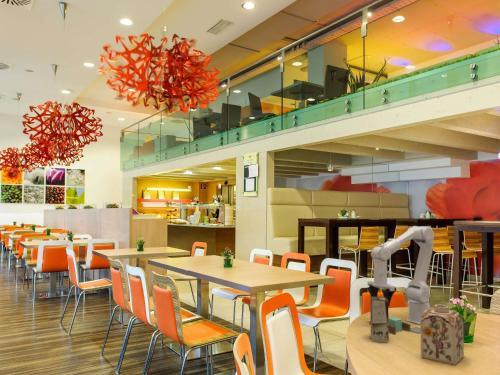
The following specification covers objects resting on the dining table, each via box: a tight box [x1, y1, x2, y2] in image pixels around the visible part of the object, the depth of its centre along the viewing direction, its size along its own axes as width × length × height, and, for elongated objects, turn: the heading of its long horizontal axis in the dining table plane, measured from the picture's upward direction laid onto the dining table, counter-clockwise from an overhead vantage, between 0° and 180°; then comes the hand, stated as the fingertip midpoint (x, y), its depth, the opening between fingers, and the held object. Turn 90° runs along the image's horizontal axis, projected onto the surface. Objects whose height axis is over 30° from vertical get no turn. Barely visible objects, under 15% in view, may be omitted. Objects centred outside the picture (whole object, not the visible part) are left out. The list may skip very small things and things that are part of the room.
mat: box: [409, 326, 421, 335], centre depth 184 cm, size 7×7×1 cm
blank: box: [388, 316, 403, 333], centre depth 184 cm, size 4×5×5 cm
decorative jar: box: [420, 304, 465, 366], centre depth 151 cm, size 12×12×18 cm
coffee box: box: [369, 296, 390, 344], centre depth 172 cm, size 9×6×16 cm
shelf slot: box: [388, 321, 411, 335], centre depth 184 cm, size 10×9×3 cm
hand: (380, 304), depth 191 cm, fingers open, 7 cm apart
